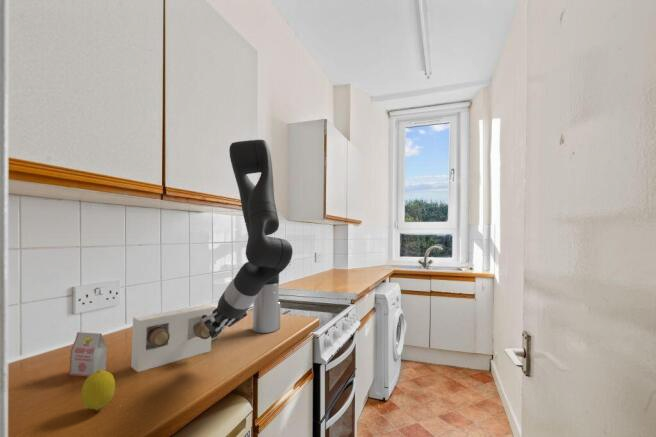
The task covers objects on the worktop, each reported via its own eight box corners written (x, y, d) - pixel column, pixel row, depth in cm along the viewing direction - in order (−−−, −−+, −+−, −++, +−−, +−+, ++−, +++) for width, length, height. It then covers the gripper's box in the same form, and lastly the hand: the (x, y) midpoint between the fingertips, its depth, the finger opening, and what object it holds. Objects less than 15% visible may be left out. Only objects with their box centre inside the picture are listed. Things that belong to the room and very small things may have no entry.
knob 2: (203, 332, 95) (203, 318, 95) (213, 337, 91) (214, 321, 91) (189, 336, 91) (189, 320, 92) (199, 341, 87) (199, 325, 88)
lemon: (117, 409, 64) (119, 369, 64) (83, 421, 60) (85, 378, 60) (110, 399, 67) (111, 361, 68) (77, 410, 63) (79, 369, 64)
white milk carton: (83, 368, 83) (84, 329, 83) (105, 370, 81) (107, 331, 82) (69, 374, 79) (71, 334, 79) (93, 377, 78) (94, 336, 78)
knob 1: (160, 339, 88) (161, 323, 89) (169, 344, 84) (170, 328, 85) (143, 343, 85) (144, 327, 85) (152, 349, 81) (152, 331, 81)
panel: (202, 346, 99) (204, 304, 100) (210, 350, 96) (212, 307, 96) (131, 366, 84) (133, 317, 85) (137, 372, 81) (139, 320, 81)
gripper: (254, 281, 87) (229, 318, 94) (209, 287, 77) (184, 327, 84) (266, 303, 83) (238, 340, 90) (220, 313, 73) (193, 353, 80)
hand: (212, 334), depth 87 cm, fingers closed
